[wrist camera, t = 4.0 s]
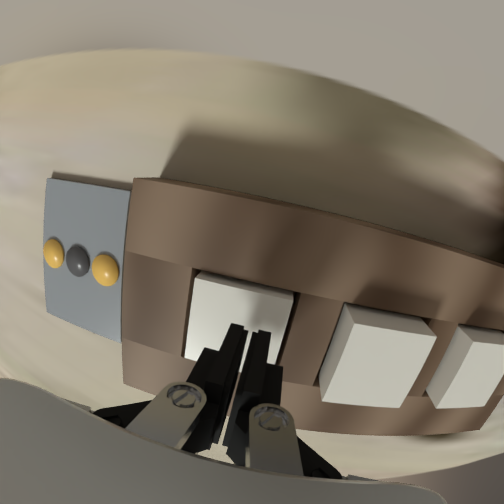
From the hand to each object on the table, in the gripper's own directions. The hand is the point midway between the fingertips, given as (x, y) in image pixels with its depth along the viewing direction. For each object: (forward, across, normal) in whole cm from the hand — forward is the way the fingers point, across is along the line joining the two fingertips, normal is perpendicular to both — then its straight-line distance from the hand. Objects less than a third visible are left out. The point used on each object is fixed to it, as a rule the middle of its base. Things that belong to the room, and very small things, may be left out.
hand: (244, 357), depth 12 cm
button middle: (+3, -6, 0) cm, 7 cm away
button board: (+5, -6, 0) cm, 8 cm away
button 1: (+3, -13, 0) cm, 14 cm away
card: (+5, +12, 0) cm, 13 cm away
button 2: (+4, +1, 0) cm, 4 cm away
